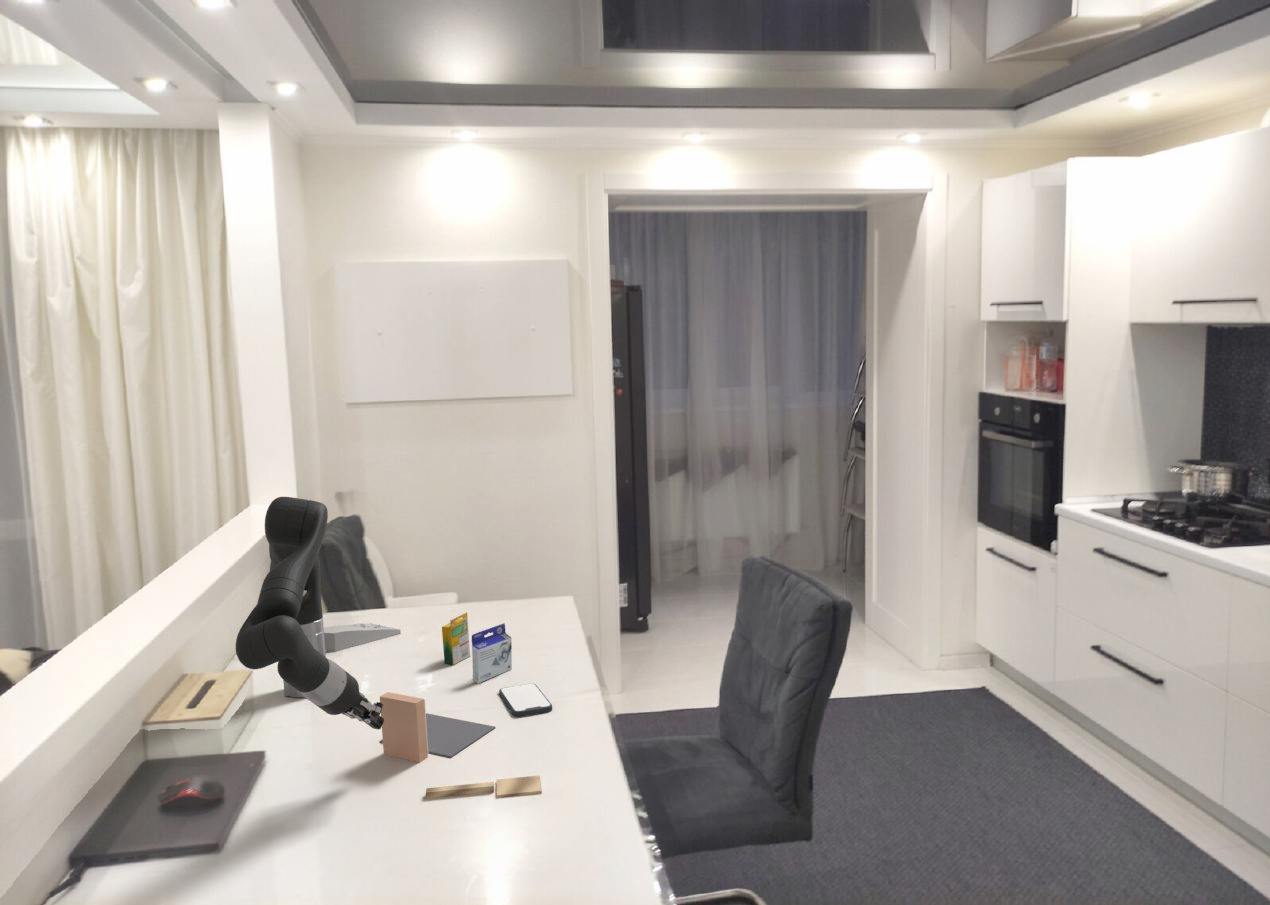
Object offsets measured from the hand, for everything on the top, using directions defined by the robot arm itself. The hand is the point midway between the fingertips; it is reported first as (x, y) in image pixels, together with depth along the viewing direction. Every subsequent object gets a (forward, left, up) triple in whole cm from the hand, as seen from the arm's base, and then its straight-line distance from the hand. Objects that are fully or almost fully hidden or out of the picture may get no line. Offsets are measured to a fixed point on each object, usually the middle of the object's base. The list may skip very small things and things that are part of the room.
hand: (379, 724), depth 183 cm
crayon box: (+12, +58, -9) cm, 60 cm away
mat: (+10, +14, -9) cm, 19 cm away
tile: (+4, +5, -9) cm, 11 cm away
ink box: (+21, +45, -9) cm, 51 cm away
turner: (+20, -13, -9) cm, 25 cm away
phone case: (+28, +28, -10) cm, 41 cm away
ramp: (-18, +81, -10) cm, 83 cm away
